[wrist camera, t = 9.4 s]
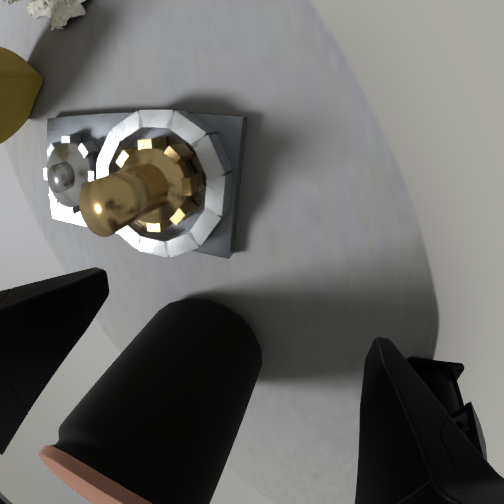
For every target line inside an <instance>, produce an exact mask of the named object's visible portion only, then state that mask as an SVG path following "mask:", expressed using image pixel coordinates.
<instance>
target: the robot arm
mask: <svg viewBox="0 0 504 504" xmlns="http://www.w3.org/2000/svg"><path fill="white" fill-rule="evenodd" d="M108 295H109V285H108V278H107V273H106V271H105V270H103V269H100V268H97V267H94V268H90V269H86V270H82V271H78V272H74V273H70V274H66V275H62V276H58V277H54V278H50V279H46V280H42V281H38V282H34V283H30V284H26V285H22V286H19V287H15V288H12V289H7V290H3V291H0V454H1V455H2V454H3V453H4V452H5V450H6V448H7V446H8V445H9V443H10V441H11V440H12V438H13V436H14V435H15V433H16V431H17V430H18V428H19V427H20V425H21V423H22V422H23V420H24V419H25V417H26V415H27V414H28V412H29V410H30V409H31V407H32V406H33V404H34V403H35V401H36V400H37V398H38V397H39V395H40V394H41V392H42V391H43V389H44V388H45V386H46V385H47V383H48V382H49V381H50V379H51V377H52V376H53V375H54V373H55V372H56V371H57V369H58V368H59V366H60V365H61V364H62V362H63V361H64V359H65V358H66V357H67V355H68V354H69V352H70V351H71V350H72V348H73V347H74V346H75V344H76V343H77V342H78V340H79V339H80V338H81V336H82V335H83V334H84V332H85V331H86V330H87V328H88V327H89V325H90V323H91V322H92V321H93V319H94V317H95V316H96V314H97V313H98V311H99V309H100V308H101V306H102V305H103V303H104V302H105V300H106V299H107V297H108ZM410 363H411V364H410ZM463 370H464V366H463V364H462V363H453V362H444V361H436V360H428V359H421V358H409V359H407V360H406V359H405V358H404V357H403V355H402V354H401V353H400V352H399V350H398V349H397V348H396V347H395V345H394V344H393V343H392V342H391V341H390V340H389V339H388V338H382V337H376V338H375V339H374V341H373V343H372V346H371V348H370V350H369V352H368V354H367V357H366V360H365V366H364V376H363V385H362V394H361V402H360V432H359V457H358V473H357V486H356V497H355V504H504V478H502V477H501V476H500V475H499V474H497V472H496V471H495V470H494V469H493V468H492V467H491V465H489V463H488V462H487V454H486V444H485V439H484V436H483V432H482V429H481V425H480V422H479V419H478V417H477V415H476V412H475V410H474V408H473V405H472V403H471V402H469V403H467V404H465V406H464V404H463V400H462V396H461V393H460V390H459V386H458V383H457V379H458V378H459V376H460V375H461V373H462V372H463ZM0 504H12V503H11V502H10V501H9V500H8V499H7V498H6V497H5V496H4V495H3V494H2V493H1V492H0Z"/></svg>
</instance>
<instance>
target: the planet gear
mask: <svg viewBox="0 0 504 504" xmlns="http://www.w3.org/2000/svg"><path fill="white" fill-rule="evenodd" d="M193 154H194V153H193V152H192V151H191V150H190V149H189V148H188V147H187V146H186V145H185V144H184V143H180V144H175V145H170V146H167V141H166V137H156V138H149V139H143V140H138V147H135V148H131V149H126V150H123V151H122V153H121V155H120V156H119V158H118V159H117V161H116V162H117V164H118V165H119V166H120V167H121V170H120V171H119V172H115V173H112V174H109V175H106V176H103V177H100V178H98V179H95V180H92V181H89V182H88V183H86V184H85V185H84V186H83V188H82V190H81V192H80V197H79V208H80V213H81V216H82V218H83V220H84V222H85V224H86V225H87V227H88V228H89V229H90V230H91V231H92V232H93V233H95V234H96V235H99V236H102V237H107V236H110V235H112V234H114V233H116V232H117V231H119V230H121V229H122V228H124V227H126V226H128V225H129V224H131V223H133V222H135V221H137V220H138V219H139V220H141V221H143V222H146V223H147V230H148V231H151V232H162V231H163V230H165V229H166V228H167V227H169V226H170V225H172V224H173V223H174V224H175V225H178V224H179V223H181V222H182V221H184V220H185V219H187V218H188V217H189V216H190V215H191V214H192V213H193V212H194V210H195V209H196V208H197V207H198V206H197V205H196V204H195V203H194V202H193V201H192V198H193V195H194V193H196V192H198V191H200V190H202V189H203V188H204V186H203V173H194V170H193V168H192V165H191V163H190V162H189V159H190V158H191V157H192V155H193Z"/></svg>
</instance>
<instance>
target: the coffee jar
mask: <svg viewBox="0 0 504 504" xmlns="http://www.w3.org/2000/svg"><path fill="white" fill-rule="evenodd" d="M261 366H262V358H261V349H260V346H259V344H258V342H257V339H256V337H255V335H254V333H253V332H252V330H251V328H250V327H249V326H248V325H247V324H246V323H245V321H244V320H243V319H242V318H241V317H240V316H239V315H237V314H236V313H234V312H233V311H231V310H230V309H228V308H227V307H225V306H223V305H220V304H217V303H215V302H212V301H209V300H200V299H185V300H180V301H176V302H172V303H169V304H168V305H166V306H165V307H164V308H162V309H161V310H159V311H158V312H157V314H156V315H155V316H154V317H153V318H152V319H151V320H150V321H149V323H148V324H147V325H146V326H145V327H144V328H143V329H142V330H141V332H140V333H139V334H138V335H137V336H136V337H135V338H134V339H133V341H132V342H131V343H130V344H129V345H128V346H127V347H126V349H125V350H124V351H123V352H122V353H121V354H120V356H119V357H118V358H117V359H116V360H115V361H114V362H113V364H112V365H111V366H110V367H109V368H108V369H107V371H106V372H105V373H104V374H103V375H102V376H101V378H100V379H99V380H98V381H97V382H96V383H95V385H94V386H93V387H92V388H91V389H90V391H89V392H88V393H87V394H86V395H85V396H84V398H83V399H82V400H81V401H80V402H79V404H78V405H77V406H76V407H75V408H74V410H73V411H72V412H71V413H70V414H69V416H68V417H67V418H66V419H65V421H64V422H63V423H62V424H61V426H60V428H59V441H58V442H57V443H56V444H55V445H51V446H45V447H44V448H43V449H42V450H41V451H40V452H39V456H40V458H41V460H42V461H43V463H45V465H46V466H47V467H48V468H49V469H50V470H51V471H52V472H53V473H54V474H55V475H56V476H57V477H58V478H59V479H61V480H62V481H63V482H64V483H65V484H67V485H68V486H69V487H70V488H72V489H73V490H74V491H76V492H77V493H78V494H80V495H81V496H82V497H84V498H85V499H87V500H88V501H90V502H91V503H93V504H209V503H210V501H211V499H212V496H213V494H214V491H215V489H216V486H217V484H218V481H219V479H220V477H221V474H222V471H223V469H224V466H225V464H226V461H227V459H228V456H229V454H230V451H231V449H232V446H233V443H234V441H235V438H236V435H237V433H238V430H239V427H240V425H241V422H242V419H243V417H244V414H245V411H246V408H247V406H248V403H249V400H250V397H251V395H252V392H253V389H254V386H255V383H256V380H257V378H258V375H259V372H260V369H261Z"/></svg>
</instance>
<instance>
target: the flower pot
mask: <svg viewBox="0 0 504 504" xmlns="http://www.w3.org/2000/svg"><path fill="white" fill-rule="evenodd" d="M42 83H43V77H42V76H41V75H40V74H39V73H38V72H37V71H36V70H35V69H33V68H32V67H31V66H30V65H29V64H28V62H26V61H25V60H24V59H23V58H21V57H20V56H19V55H17V54H16V53H14V52H12V51H10V50H8V49H5V48H2V47H0V143H2V142H4V141H5V140H7V139H8V138H10V137H11V136H12V135H13V134H15V133H16V132H17V131H18V130H19V129H20V128H21V127H22V126H23V124H24V123H25V122H26V121H27V120H28V118H29V116H30V113H31V110H32V108H33V105H34V103H35V100H36V98H37V95H38V93H39V91H40V88H41V86H42Z"/></svg>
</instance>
